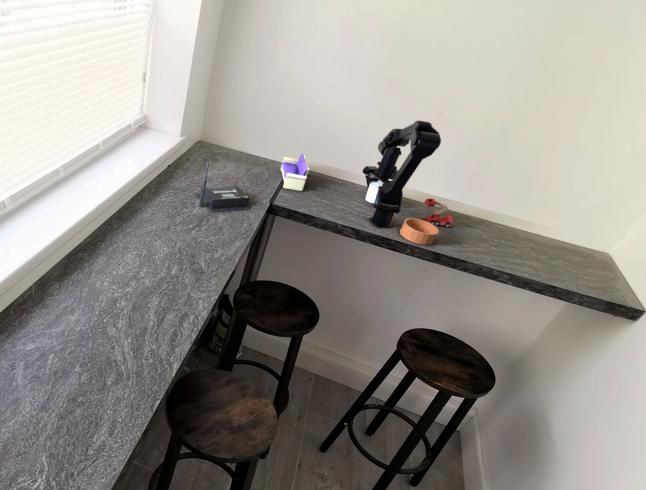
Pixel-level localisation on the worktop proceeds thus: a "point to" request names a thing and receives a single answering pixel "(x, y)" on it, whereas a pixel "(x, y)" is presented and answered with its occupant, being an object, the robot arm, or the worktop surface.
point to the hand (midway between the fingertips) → (373, 197)
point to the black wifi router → (223, 197)
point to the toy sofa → (294, 172)
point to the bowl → (419, 231)
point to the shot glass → (372, 191)
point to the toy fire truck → (435, 216)
